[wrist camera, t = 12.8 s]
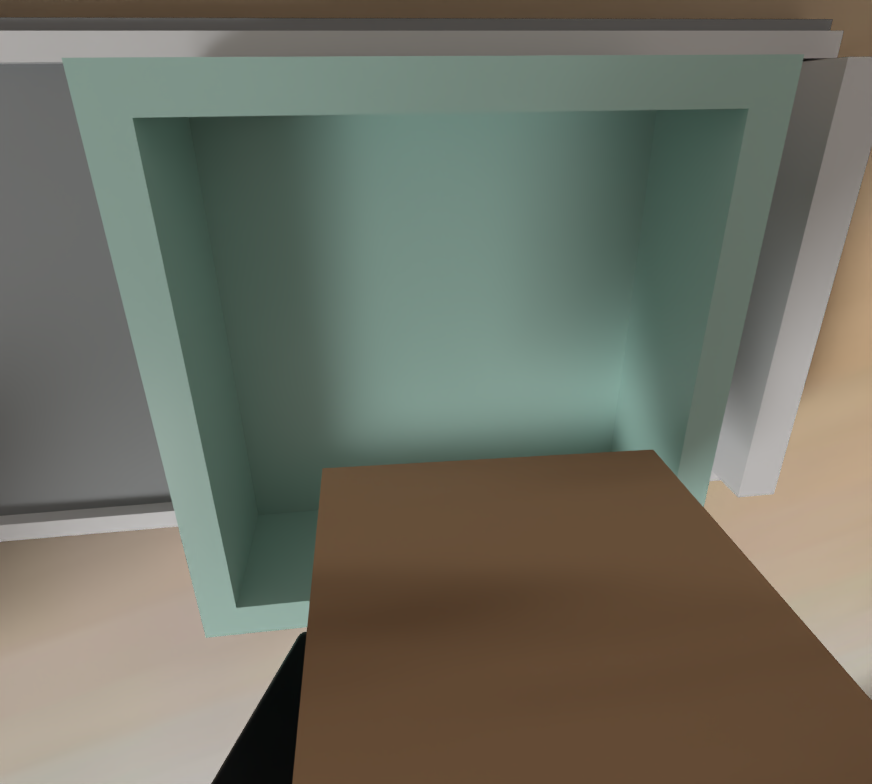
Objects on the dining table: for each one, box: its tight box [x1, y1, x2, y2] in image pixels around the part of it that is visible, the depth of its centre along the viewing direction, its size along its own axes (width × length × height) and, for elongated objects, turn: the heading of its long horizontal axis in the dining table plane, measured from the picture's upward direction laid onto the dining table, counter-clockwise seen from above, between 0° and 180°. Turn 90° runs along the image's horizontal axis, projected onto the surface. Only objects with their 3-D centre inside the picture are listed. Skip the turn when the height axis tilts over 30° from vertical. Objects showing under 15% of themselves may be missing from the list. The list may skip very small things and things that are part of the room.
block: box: [292, 450, 872, 784], centre depth 8 cm, size 5×5×5 cm
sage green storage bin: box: [62, 54, 804, 638], centre depth 14 cm, size 12×12×6 cm
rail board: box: [0, 18, 872, 542], centre depth 16 cm, size 14×30×3 cm, turn 91°
